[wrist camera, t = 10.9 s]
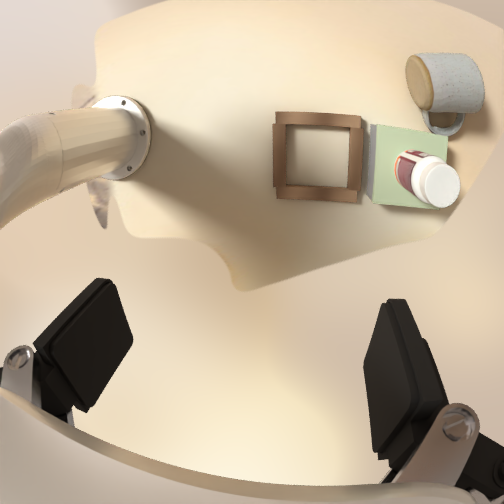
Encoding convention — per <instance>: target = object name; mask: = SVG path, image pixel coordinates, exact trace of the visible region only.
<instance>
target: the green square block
mask: <svg viewBox="0 0 504 504" xmlns="http://www.w3.org/2000/svg"><path fill="white" fill-rule="evenodd" d="M447 147H448V137H447V136H442V135H437V134H433V133H428V132H422V131H417V130H411V129H405V128H399V127H392V126H385V125H373V124H370V151H369V168H368V182H367V195H368V197H369V198H370V199H371V200H372V202H373V204H385V205H397V206H407V207H417V208H427V209H435V210H440V208H439V207H436V206H434V205H432V204H428V203H425V202H422V201H421V200H419V199H418V198H417V197H416V196H415V195H413V194H412V193H411V192H409V191H408V190H407V189H405V188H404V187H402V186H401V185H400V184H399V183H398V181H397V180H396V178H395V174H394V163H395V160H396V158H397V156H398V155H399V154H400V153H402V152H403V151H405V150H408V149H414V150H418V151H421V152H424V153H427V154H431V155H434V156H437V157H439V158H441V159H443V160H444V161H445V162H446V159H447Z"/></svg>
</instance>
